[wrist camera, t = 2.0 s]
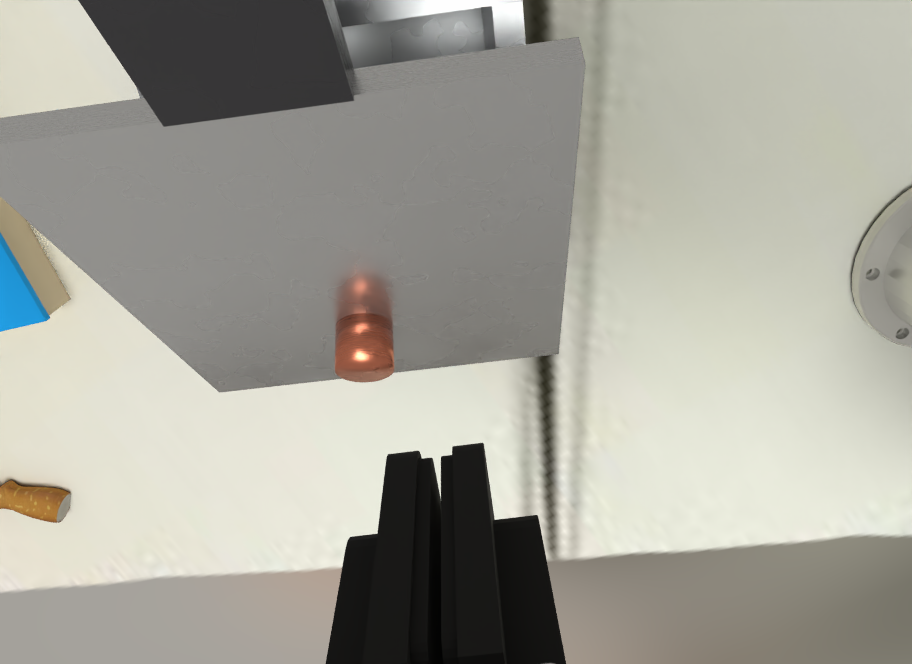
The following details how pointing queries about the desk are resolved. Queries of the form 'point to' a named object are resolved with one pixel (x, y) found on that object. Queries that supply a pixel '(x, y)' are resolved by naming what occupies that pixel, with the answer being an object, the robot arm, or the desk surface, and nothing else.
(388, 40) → the grey open box
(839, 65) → the desk surface
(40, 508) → the orange and grey rod
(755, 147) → the desk surface
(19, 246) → the book
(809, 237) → the desk surface
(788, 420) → the desk surface
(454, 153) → the cooker lid
